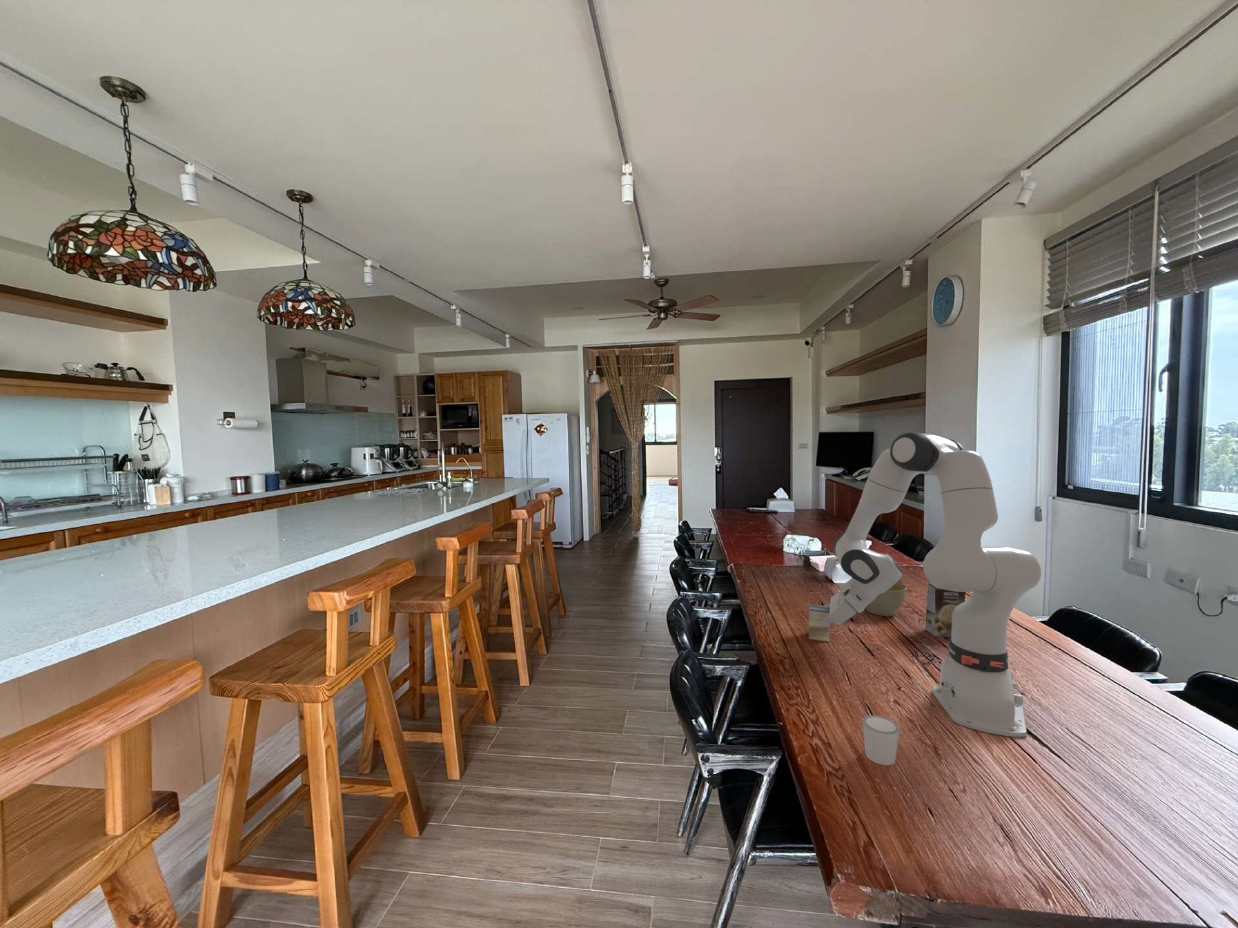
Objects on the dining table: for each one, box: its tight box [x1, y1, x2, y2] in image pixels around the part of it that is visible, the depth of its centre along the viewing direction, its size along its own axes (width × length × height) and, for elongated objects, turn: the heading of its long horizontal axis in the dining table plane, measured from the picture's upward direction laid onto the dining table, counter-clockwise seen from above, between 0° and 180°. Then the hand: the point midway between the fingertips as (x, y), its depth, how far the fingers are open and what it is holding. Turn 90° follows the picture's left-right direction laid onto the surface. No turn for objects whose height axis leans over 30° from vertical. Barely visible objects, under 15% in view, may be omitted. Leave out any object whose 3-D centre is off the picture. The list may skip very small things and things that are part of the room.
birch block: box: [808, 603, 830, 642], centre depth 164 cm, size 5×6×10 cm
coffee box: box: [924, 583, 966, 638], centre depth 166 cm, size 9×6×16 cm
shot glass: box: [862, 714, 900, 766], centre depth 104 cm, size 7×7×7 cm
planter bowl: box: [866, 581, 907, 617], centre depth 186 cm, size 16×16×11 cm
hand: (822, 619), depth 164 cm, fingers open, 8 cm apart
